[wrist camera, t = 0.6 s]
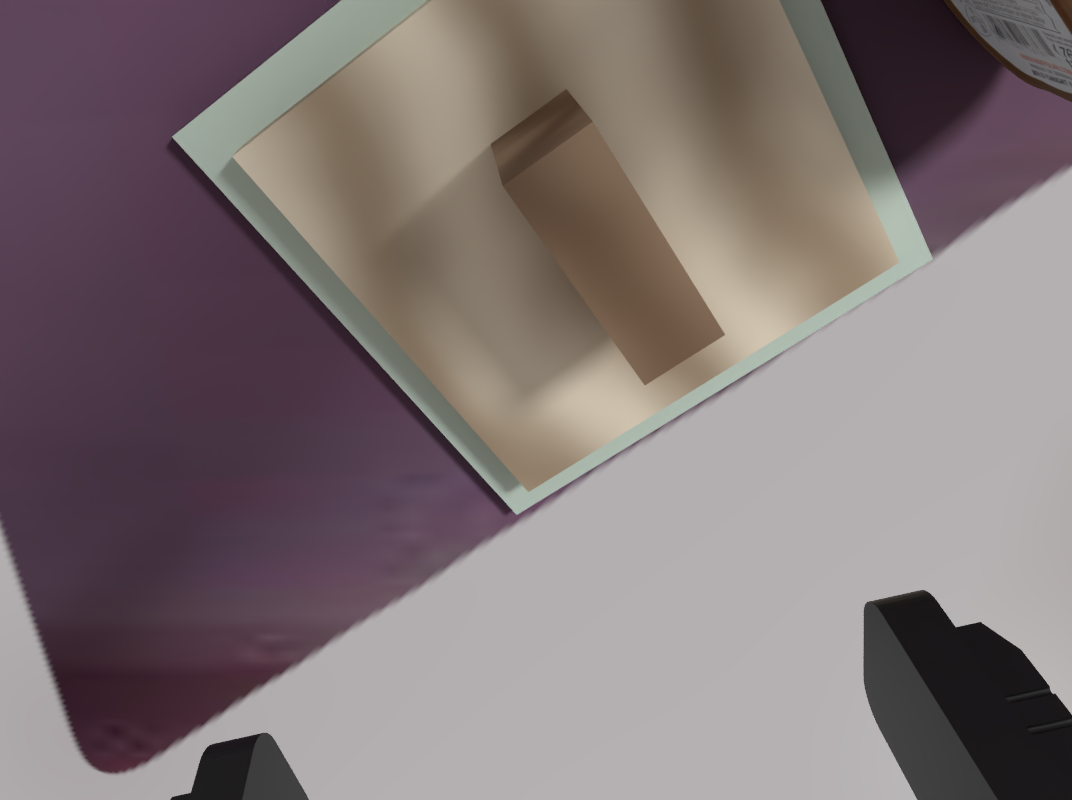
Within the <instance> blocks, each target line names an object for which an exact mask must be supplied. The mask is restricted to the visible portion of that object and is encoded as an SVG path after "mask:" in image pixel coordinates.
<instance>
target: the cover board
mask: <svg viewBox="0 0 1072 800" xmlns="http://www.w3.org/2000/svg"><path fill="white" fill-rule="evenodd" d="M232 157H233V158H234V159H235V160H236V162H237V163H238V164H239V165H240V166H241V167H242V168H243V170H244V171H245V172H246V173H247V174H248V175H249V176H250V177H251V179H252V180H253V181H254V182H255V183H256V184H257V185H258V187H259V188H260V189H261V190H262V191H263V192H264V193H265V194H266V196H267V197H268V198H269V199H270V200H271V201H272V202H273V204H274V205H275V206H276V207H277V208H278V209H279V210H280V211H281V213H282V214H283V215H284V216H285V217H286V218H287V219H288V221H289V222H290V223H291V224H292V225H293V226H294V227H295V228H296V230H297V231H298V232H299V233H300V234H301V235H302V236H303V237H304V239H305V240H306V241H307V242H308V243H309V244H310V245H311V247H312V248H313V249H314V250H315V251H316V252H317V253H318V254H319V256H320V257H321V258H322V259H323V260H324V261H325V262H326V264H327V265H328V266H329V267H330V268H331V269H332V270H333V271H334V273H335V274H336V275H337V276H338V277H339V278H340V279H341V281H342V282H343V283H344V284H345V285H346V286H347V287H348V288H349V290H350V291H351V292H352V293H353V294H354V295H355V296H356V298H357V299H358V300H359V301H360V302H361V303H362V304H363V305H364V307H365V308H366V309H367V310H368V311H369V312H370V313H371V314H372V316H373V317H374V318H375V319H376V320H377V321H378V322H379V324H380V325H381V326H382V327H383V328H384V329H385V330H386V331H387V333H388V334H389V335H390V336H391V337H392V338H393V339H394V341H395V342H396V343H397V344H398V345H399V346H400V347H401V348H402V350H403V351H404V352H405V353H406V354H407V355H408V356H409V358H410V359H411V360H412V361H413V362H414V363H415V364H416V365H417V367H418V368H419V369H420V370H421V371H422V372H423V373H424V375H425V376H426V377H427V378H428V379H429V380H430V381H431V382H432V384H433V385H434V386H435V387H436V388H437V389H438V390H439V392H440V393H441V394H442V395H443V396H444V397H445V398H446V399H447V401H448V402H449V403H450V404H451V405H452V406H453V407H454V408H455V410H456V411H457V412H458V413H459V414H460V415H461V416H462V418H463V419H464V420H465V421H466V422H467V423H468V424H469V425H470V427H471V428H472V429H473V430H474V431H475V432H476V433H477V435H478V436H479V437H480V438H481V439H482V440H483V441H484V442H485V444H486V445H487V446H488V447H489V448H490V449H491V450H492V452H493V453H494V454H495V455H496V456H497V457H498V458H499V459H500V461H501V462H502V463H503V464H504V465H505V466H506V467H507V469H508V470H509V471H510V472H511V473H512V474H513V475H514V476H515V478H516V479H517V480H518V481H519V482H520V483H521V484H522V486H523V487H524V488H525V489H526V490H527V491H528V492H530V491H531V490H533V489H534V488H536V487H538V486H539V485H541V484H542V483H544V482H546V481H547V480H549V479H551V478H552V477H554V476H555V475H557V474H559V473H560V472H562V471H563V470H565V469H567V468H568V467H570V466H572V465H573V464H575V463H576V462H578V461H580V460H581V459H583V458H585V457H586V456H588V455H589V454H591V453H593V452H594V451H596V450H597V449H599V448H601V447H602V446H604V445H606V444H607V443H609V442H610V441H612V440H614V439H615V438H617V437H618V436H620V435H622V434H623V433H625V432H627V431H628V430H630V429H631V428H633V427H635V426H636V425H638V424H639V423H641V422H643V421H644V420H646V419H648V418H649V417H651V416H652V415H654V414H656V413H657V412H659V411H660V410H662V409H664V408H665V407H667V406H669V405H670V404H672V403H673V402H675V401H677V400H678V399H680V398H681V397H683V396H685V395H686V394H688V393H690V392H691V391H693V390H694V389H696V388H698V387H699V386H701V385H702V384H704V383H706V382H707V381H709V380H711V379H712V378H714V377H715V376H717V375H719V374H720V373H722V372H724V371H725V370H727V369H728V368H730V367H732V366H733V365H735V364H736V363H738V362H740V361H741V360H743V359H745V358H746V357H748V356H749V355H751V354H753V353H754V352H756V351H757V350H759V349H761V348H762V347H764V346H766V345H767V344H769V343H770V342H772V341H774V340H775V339H777V338H778V337H780V336H782V335H783V334H785V333H787V332H788V331H790V330H791V329H793V328H795V327H796V326H798V325H799V324H801V323H803V322H804V321H806V320H808V319H809V318H811V317H812V316H814V315H816V314H817V313H819V312H820V311H822V310H824V309H825V308H827V307H829V306H830V305H832V304H833V303H835V302H837V301H838V300H840V299H841V298H843V297H845V296H846V295H848V294H850V293H851V292H853V291H854V290H856V289H858V288H859V287H861V286H863V285H864V284H866V283H867V282H869V281H871V280H872V279H874V278H875V277H877V276H879V275H880V274H882V273H884V272H885V271H887V270H888V269H890V268H892V267H893V266H895V265H896V264H898V263H900V262H899V260H898V258H897V256H896V253H895V251H894V249H893V247H892V245H891V242H890V240H889V238H888V236H887V234H886V232H885V229H884V227H883V225H882V223H881V221H880V219H879V216H878V214H877V212H876V210H875V208H874V205H873V203H872V201H871V199H870V197H869V195H868V192H867V190H866V188H865V186H864V184H863V181H862V179H861V177H860V175H859V173H858V171H857V168H856V166H855V164H854V162H853V160H852V157H851V155H850V153H849V151H848V149H847V147H846V144H845V142H844V140H843V138H842V136H841V134H840V131H839V129H838V127H837V125H836V123H835V120H834V118H833V116H832V114H831V112H830V110H829V107H828V105H827V103H826V101H825V99H824V96H823V94H822V92H821V90H820V88H819V86H818V83H817V81H816V79H815V77H814V75H813V72H812V70H811V68H810V66H809V64H808V62H807V59H806V57H805V55H804V53H803V51H802V49H801V46H800V44H799V42H798V40H797V38H796V35H795V33H794V31H793V29H792V27H791V25H790V22H789V20H788V18H787V16H786V14H785V11H784V9H783V7H782V5H781V3H780V1H779V0H427V1H426V2H424V3H423V4H422V5H421V6H419V7H418V8H417V9H416V10H414V11H413V12H412V13H410V14H409V15H408V16H407V17H405V18H404V19H403V20H402V21H400V22H399V23H398V24H396V25H395V26H394V27H393V28H391V29H390V30H389V31H387V32H386V33H385V34H384V35H382V36H381V37H380V38H379V39H377V40H376V41H375V42H373V43H372V44H371V45H370V46H368V47H367V48H366V49H365V50H363V51H362V52H361V53H359V54H358V55H357V56H356V57H354V58H353V59H352V60H351V61H349V62H348V63H347V64H345V65H344V66H343V67H342V68H340V69H339V70H338V71H337V72H335V73H334V74H333V75H331V76H330V77H329V78H328V79H326V80H325V81H324V82H323V83H321V84H320V85H319V86H317V87H316V88H315V89H314V90H312V91H311V92H310V93H308V94H307V95H306V96H305V97H303V98H302V99H301V100H300V101H298V102H297V103H296V104H294V105H293V106H292V107H291V108H289V109H288V110H287V111H286V112H284V113H283V114H282V115H280V116H279V117H278V118H277V119H275V120H274V121H273V122H272V123H270V124H269V125H268V126H266V127H265V128H264V129H263V130H261V131H260V132H259V133H258V134H256V135H255V136H254V137H252V138H251V139H250V140H249V141H247V142H246V143H245V144H244V145H242V146H241V147H240V148H239V149H238V150H237V151H236V152H235V154H234V155H233V156H232Z"/></svg>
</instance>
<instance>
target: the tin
mask: <svg viewBox="0 0 1072 800" xmlns="http://www.w3.org/2000/svg"><path fill="white" fill-rule="evenodd" d="M943 1H944V2H945V4H946V5H947V6H948V7H949V9H950V10H951V11H952V12H953V13H954V15H955V16H956V17H957V18H958V20H959V21H960V22H961V23H962V24H963V26H964V27H965V28H966V29H967V30H968V31H969V32H970V33H971V34H972V36H973V37H974V38H975V39H976V40H977V41H978V42H979V43H980V44H981V45H982V46H983V47H984V48H985V49H986V50H987V51H988V52H989V53H990V54H991V55H992V56H993V57H994V58H995V59H996V60H998V61H999V62H1000V63H1001V64H1002V65H1003V66H1005V67H1006V68H1007V69H1008V70H1010V71H1011V72H1012V73H1013V74H1015V75H1016V76H1017V77H1018V78H1020V79H1022V80H1023V81H1025V82H1026V83H1028V84H1030V85H1032V86H1034V87H1037V88H1040V89H1043V90H1046V91H1049V92H1051V93H1053V94H1055V95H1058V96H1060V97H1062V98H1064V99H1066V100H1068V101H1070V102H1072V0H943Z"/></svg>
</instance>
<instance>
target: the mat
mask: <svg viewBox="0 0 1072 800" xmlns="http://www.w3.org/2000/svg"><path fill="white" fill-rule="evenodd" d="M426 1H427V0H341V1H340V2H339V3H337V4H336V5H335V6H334V7H332V8H331V9H330V10H329V11H327V12H326V13H325V14H324V15H322V16H321V17H320V18H319V19H317V20H316V21H315V22H314V23H312V24H311V25H310V26H309V27H308V28H306V29H305V30H304V31H303V32H301V33H300V34H299V35H298V36H296V37H295V38H294V39H293V40H291V41H290V42H289V43H288V44H286V45H285V46H284V47H283V48H281V49H280V50H279V51H278V52H276V53H275V54H274V55H273V56H272V57H270V58H269V59H268V60H267V61H265V62H264V63H263V64H262V65H260V66H259V67H258V68H257V69H255V70H254V71H253V72H252V73H250V74H249V75H248V76H247V77H245V78H244V79H243V80H242V81H240V82H239V83H238V84H237V85H236V86H234V87H233V88H232V89H231V90H229V91H228V92H227V93H226V94H224V95H223V96H222V97H221V98H219V99H218V100H217V101H216V102H214V103H213V104H212V105H211V106H209V107H208V108H207V109H206V110H204V111H203V112H202V113H201V114H200V115H198V116H197V117H196V118H195V119H193V120H192V121H191V122H190V123H188V124H187V125H186V126H185V127H183V128H182V129H181V130H180V131H178V132H177V133H176V134H175V135H174V136H172V138H173V139H174V140H175V141H176V142H177V143H178V144H179V145H180V146H181V147H182V148H183V150H184V151H185V152H186V153H187V154H188V155H189V156H190V157H191V158H192V159H193V161H194V162H195V163H196V164H197V165H198V166H199V167H200V168H201V169H202V170H203V172H204V173H205V174H206V175H207V176H208V177H209V178H210V179H211V180H212V181H213V182H214V184H215V185H216V186H217V187H218V188H219V189H220V190H221V191H222V192H223V193H224V195H225V196H226V197H227V198H228V199H229V200H230V201H231V202H232V203H233V204H234V206H235V207H236V208H237V209H238V210H239V211H240V212H241V213H242V214H243V215H244V216H245V218H246V219H247V220H248V221H249V222H250V223H251V224H252V225H253V226H254V227H255V229H256V230H257V231H258V232H259V233H260V234H261V235H262V236H263V237H264V238H265V239H266V241H267V242H268V243H269V244H270V245H271V246H272V247H273V248H274V249H275V250H276V252H277V253H278V254H279V255H280V256H281V257H282V258H283V259H284V260H285V261H286V263H287V264H288V265H289V266H290V267H291V268H292V269H293V270H294V271H295V272H296V273H297V275H298V276H299V277H300V278H301V279H302V280H303V281H304V282H305V283H306V284H307V286H308V287H309V288H310V289H311V290H312V291H313V292H314V293H315V294H316V295H317V297H318V298H319V299H320V300H321V301H322V302H323V303H324V304H325V305H326V306H327V307H328V309H329V310H330V311H331V312H332V313H333V314H334V315H335V316H336V317H337V318H338V320H339V321H340V322H341V323H342V324H343V325H344V326H345V327H346V328H347V329H348V331H349V332H350V333H351V334H352V335H353V336H354V337H355V338H356V339H357V340H358V341H359V343H360V344H361V345H362V346H363V347H364V348H365V349H366V350H367V351H368V352H369V354H370V355H371V356H372V357H373V358H374V359H375V360H376V361H377V362H378V363H379V365H380V366H381V367H382V368H383V369H384V370H385V371H386V372H387V373H388V374H389V375H390V377H391V378H392V379H393V380H394V381H395V382H396V383H397V384H398V385H399V386H400V388H401V389H402V390H403V391H404V392H405V393H406V394H407V395H408V396H409V397H410V399H411V400H412V401H413V402H414V403H415V404H416V405H417V406H418V407H419V408H420V409H421V411H422V412H423V413H424V414H425V415H426V416H427V417H428V418H429V419H430V420H431V422H432V423H433V424H434V425H435V426H436V427H437V428H438V429H439V430H440V431H441V432H442V434H443V435H444V436H445V437H446V438H447V439H448V440H449V441H450V442H451V443H452V445H453V446H454V447H455V448H456V449H457V450H458V451H459V452H460V453H461V454H462V456H463V457H464V458H465V459H466V460H467V461H468V462H469V463H470V464H471V465H472V466H473V468H474V469H475V470H476V471H477V472H478V473H479V474H480V475H481V476H482V477H483V479H484V480H485V481H486V482H487V483H488V484H489V485H490V486H491V487H492V488H493V490H494V491H495V492H496V493H497V494H498V495H499V496H500V497H501V498H502V499H503V500H504V502H505V503H506V504H507V505H508V506H509V507H510V508H511V509H512V510H513V511H514V513H515V514H516V515H517V514H519V513H521V512H522V511H524V510H525V509H527V508H529V507H530V506H532V505H534V504H535V503H537V502H538V501H540V500H542V499H543V498H545V497H547V496H548V495H550V494H551V493H553V492H555V491H556V490H558V489H560V488H561V487H563V486H565V485H566V484H568V483H569V482H571V481H573V480H574V479H576V478H578V477H579V476H581V475H582V474H584V473H586V472H587V471H589V470H591V469H592V468H594V467H595V466H597V465H599V464H600V463H602V462H604V461H605V460H607V459H608V458H610V457H612V456H613V455H615V454H617V453H618V452H620V451H621V450H623V449H625V448H626V447H628V446H630V445H631V444H633V443H635V442H636V441H638V440H639V439H641V438H643V437H644V436H646V435H648V434H649V433H651V432H652V431H654V430H656V429H657V428H659V427H661V426H662V425H664V424H665V423H667V422H669V421H670V420H672V419H674V418H675V417H677V416H678V415H680V414H682V413H683V412H685V411H687V410H688V409H690V408H692V407H693V406H695V405H696V404H698V403H700V402H701V401H703V400H705V399H706V398H708V397H709V396H711V395H713V394H714V393H716V392H718V391H719V390H721V389H722V388H724V387H726V386H727V385H729V384H731V383H732V382H734V381H735V380H737V379H739V378H740V377H742V376H744V375H745V374H747V373H748V372H750V371H752V370H753V369H755V368H757V367H758V366H760V365H762V364H763V363H765V362H766V361H768V360H770V359H771V358H773V357H775V356H776V355H778V354H779V353H781V352H783V351H784V350H786V349H788V348H789V347H791V346H792V345H794V344H796V343H797V342H799V341H801V340H802V339H804V338H805V337H807V336H809V335H810V334H812V333H814V332H815V331H817V330H819V329H820V328H822V327H823V326H825V325H827V324H828V323H830V322H832V321H833V320H835V319H836V318H838V317H840V316H841V315H843V314H845V313H846V312H848V311H849V310H851V309H853V308H854V307H856V306H858V305H859V304H861V303H862V302H864V301H866V300H867V299H869V298H871V297H872V296H874V295H875V294H877V293H879V292H880V291H882V290H884V289H885V288H887V287H889V286H890V285H892V284H893V283H895V282H897V281H898V280H900V279H902V278H903V277H905V276H906V275H908V274H910V273H911V272H913V271H915V270H916V269H918V268H919V267H921V266H923V265H924V264H926V263H928V262H929V261H931V260H932V259H933V258H932V256H931V254H930V252H929V249H928V247H927V245H926V242H925V240H924V238H923V235H922V233H921V231H920V228H919V226H918V224H917V222H916V219H915V217H914V215H913V212H912V210H911V208H910V205H909V203H908V201H907V198H906V196H905V194H904V192H903V189H902V187H901V185H900V182H899V180H898V178H897V175H896V173H895V171H894V168H893V166H892V164H891V162H890V159H889V157H888V155H887V152H886V150H885V148H884V145H883V143H882V141H881V138H880V136H879V134H878V132H877V129H876V127H875V125H874V122H873V120H872V118H871V115H870V113H869V111H868V108H867V106H866V104H865V101H864V99H863V97H862V95H861V92H860V90H859V88H858V85H857V83H856V81H855V78H854V76H853V74H852V71H851V69H850V67H849V65H848V62H847V60H846V58H845V55H844V53H843V51H842V48H841V46H840V44H839V41H838V39H837V37H836V35H835V32H834V30H833V28H832V25H831V23H830V21H829V18H828V16H827V14H826V11H825V9H824V7H823V5H822V2H821V0H779V1H780V3H781V5H782V7H783V9H784V11H785V14H786V16H787V18H788V20H789V22H790V25H791V27H792V29H793V31H794V33H795V35H796V38H797V40H798V42H799V44H800V46H801V49H802V51H803V53H804V55H805V57H806V59H807V62H808V64H809V66H810V68H811V70H812V72H813V75H814V77H815V79H816V81H817V83H818V86H819V88H820V90H821V92H822V94H823V96H824V99H825V101H826V103H827V105H828V107H829V110H830V112H831V114H832V116H833V118H834V120H835V123H836V125H837V127H838V129H839V131H840V134H841V136H842V138H843V140H844V142H845V144H846V147H847V149H848V151H849V153H850V155H851V157H852V160H853V162H854V164H855V166H856V168H857V171H858V173H859V175H860V177H861V179H862V181H863V184H864V186H865V188H866V190H867V192H868V195H869V197H870V199H871V201H872V203H873V205H874V208H875V210H876V212H877V214H878V216H879V219H880V221H881V223H882V225H883V227H884V229H885V232H886V234H887V236H888V238H889V240H890V242H891V245H892V247H893V249H894V251H895V253H896V256H897V258H898V260H899V262H900V263H898V264H896V265H895V266H893V267H892V268H890V269H888V270H887V271H885V272H884V273H882V274H880V275H879V276H877V277H875V278H874V279H872V280H871V281H869V282H867V283H866V284H864V285H863V286H861V287H859V288H858V289H856V290H854V291H853V292H851V293H850V294H848V295H846V296H845V297H843V298H841V299H840V300H838V301H837V302H835V303H833V304H832V305H830V306H829V307H827V308H825V309H824V310H822V311H820V312H819V313H817V314H816V315H814V316H812V317H811V318H809V319H808V320H806V321H804V322H803V323H801V324H799V325H798V326H796V327H795V328H793V329H791V330H790V331H788V332H787V333H785V334H783V335H782V336H780V337H778V338H777V339H775V340H774V341H772V342H770V343H769V344H767V345H766V346H764V347H762V348H761V349H759V350H757V351H756V352H754V353H753V354H751V355H749V356H748V357H746V358H745V359H743V360H741V361H740V362H738V363H736V364H735V365H733V366H732V367H730V368H728V369H727V370H725V371H724V372H722V373H720V374H719V375H717V376H715V377H714V378H712V379H711V380H709V381H707V382H706V383H704V384H702V385H701V386H699V387H698V388H696V389H694V390H693V391H691V392H690V393H688V394H686V395H685V396H683V397H681V398H680V399H678V400H677V401H675V402H673V403H672V404H670V405H669V406H667V407H665V408H664V409H662V410H660V411H659V412H657V413H656V414H654V415H652V416H651V417H649V418H648V419H646V420H644V421H643V422H641V423H639V424H638V425H636V426H635V427H633V428H631V429H630V430H628V431H627V432H625V433H623V434H622V435H620V436H618V437H617V438H615V439H614V440H612V441H610V442H609V443H607V444H606V445H604V446H602V447H601V448H599V449H597V450H596V451H594V452H593V453H591V454H589V455H588V456H586V457H585V458H583V459H581V460H580V461H578V462H576V463H575V464H573V465H572V466H570V467H568V468H567V469H565V470H563V471H562V472H560V473H559V474H557V475H555V476H554V477H552V478H551V479H549V480H547V481H546V482H544V483H542V484H541V485H539V486H538V487H536V488H534V489H533V490H531V491H530V492H528V491H527V490H526V489H525V488H524V487H523V486H522V484H521V483H520V482H519V481H518V480H517V479H516V478H515V476H514V475H513V474H512V473H511V472H510V471H509V470H508V469H507V467H506V466H505V465H504V464H503V463H502V462H501V461H500V459H499V458H498V457H497V456H496V455H495V454H494V453H493V452H492V450H491V449H490V448H489V447H488V446H487V445H486V444H485V442H484V441H483V440H482V439H481V438H480V437H479V436H478V435H477V433H476V432H475V431H474V430H473V429H472V428H471V427H470V425H469V424H468V423H467V422H466V421H465V420H464V419H463V418H462V416H461V415H460V414H459V413H458V412H457V411H456V410H455V408H454V407H453V406H452V405H451V404H450V403H449V402H448V401H447V399H446V398H445V397H444V396H443V395H442V394H441V393H440V392H439V390H438V389H437V388H436V387H435V386H434V385H433V384H432V382H431V381H430V380H429V379H428V378H427V377H426V376H425V375H424V373H423V372H422V371H421V370H420V369H419V368H418V367H417V365H416V364H415V363H414V362H413V361H412V360H411V359H410V358H409V356H408V355H407V354H406V353H405V352H404V351H403V350H402V348H401V347H400V346H399V345H398V344H397V343H396V342H395V341H394V339H393V338H392V337H391V336H390V335H389V334H388V333H387V331H386V330H385V329H384V328H383V327H382V326H381V325H380V324H379V322H378V321H377V320H376V319H375V318H374V317H373V316H372V314H371V313H370V312H369V311H368V310H367V309H366V308H365V307H364V305H363V304H362V303H361V302H360V301H359V300H358V299H357V298H356V296H355V295H354V294H353V293H352V292H351V291H350V290H349V288H348V287H347V286H346V285H345V284H344V283H343V282H342V281H341V279H340V278H339V277H338V276H337V275H336V274H335V273H334V271H333V270H332V269H331V268H330V267H329V266H328V265H327V264H326V262H325V261H324V260H323V259H322V258H321V257H320V256H319V254H318V253H317V252H316V251H315V250H314V249H313V248H312V247H311V245H310V244H309V243H308V242H307V241H306V240H305V239H304V237H303V236H302V235H301V234H300V233H299V232H298V231H297V230H296V228H295V227H294V226H293V225H292V224H291V223H290V222H289V221H288V219H287V218H286V217H285V216H284V215H283V214H282V213H281V211H280V210H279V209H278V208H277V207H276V206H275V205H274V204H273V202H272V201H271V200H270V199H269V198H268V197H267V196H266V194H265V193H264V192H263V191H262V190H261V189H260V188H259V187H258V185H257V184H256V183H255V182H254V181H253V180H252V179H251V177H250V176H249V175H248V174H247V173H246V172H245V171H244V170H243V168H242V167H241V166H240V165H239V164H238V163H237V162H236V160H235V159H234V158H233V157H232V156H233V155H234V154H235V152H236V151H237V150H238V149H239V148H240V147H241V146H242V145H244V144H245V143H246V142H247V141H249V140H250V139H251V138H252V137H254V136H255V135H256V134H258V133H259V132H260V131H261V130H263V129H264V128H265V127H266V126H268V125H269V124H270V123H272V122H273V121H274V120H275V119H277V118H278V117H279V116H280V115H282V114H283V113H284V112H286V111H287V110H288V109H289V108H291V107H292V106H293V105H294V104H296V103H297V102H298V101H300V100H301V99H302V98H303V97H305V96H306V95H307V94H308V93H310V92H311V91H312V90H314V89H315V88H316V87H317V86H319V85H320V84H321V83H323V82H324V81H325V80H326V79H328V78H329V77H330V76H331V75H333V74H334V73H335V72H337V71H338V70H339V69H340V68H342V67H343V66H344V65H345V64H347V63H348V62H349V61H351V60H352V59H353V58H354V57H356V56H357V55H358V54H359V53H361V52H362V51H363V50H365V49H366V48H367V47H368V46H370V45H371V44H372V43H373V42H375V41H376V40H377V39H379V38H380V37H381V36H382V35H384V34H385V33H386V32H387V31H389V30H390V29H391V28H393V27H394V26H395V25H396V24H398V23H399V22H400V21H402V20H403V19H404V18H405V17H407V16H408V15H409V14H410V13H412V12H413V11H414V10H416V9H417V8H418V7H419V6H421V5H422V4H423V3H424V2H426Z"/></svg>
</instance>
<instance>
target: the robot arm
mask: <svg viewBox="0 0 1072 800" xmlns="http://www.w3.org/2000/svg"><path fill="white" fill-rule="evenodd" d="M864 684H865V690H866V694H867V698H868V701H869V704H870V707H871V710H872V713H873V715H874V718H875V720H876V722H877V724H878V726H879V728H880V730H881V732H882V734H883V736H884V738H885V740H886V742H887V743H888V745H889V747H890V749H891V751H892V753H893V754H894V756H895V758H896V760H897V762H898V764H899V766H900V768H901V770H902V772H903V773H904V775H905V777H906V779H907V781H908V783H909V784H910V787H911V788H912V790H913V792H914V794H915V796H916V798H917V799H918V800H1072V715H1071V713H1070V712H1069V711H1068V709H1067V708H1066V707H1065V706H1064V704H1063V703H1062V702H1061V700H1060V699H1059V698H1058V697H1057V695H1056V694H1052V693H1051V691H1050V686H1049V685H1048V684H1047V683H1046V681H1045V680H1044V679H1043V677H1042V676H1041V675H1040V674H1039V672H1038V671H1037V670H1036V669H1035V667H1034V666H1033V665H1032V663H1031V662H1030V661H1029V659H1028V658H1027V657H1026V656H1025V654H1024V653H1023V652H1022V651H1021V650H1020V649H1019V648H1018V647H1016V646H1015V645H1013V644H1012V643H1010V642H1009V641H1007V640H1006V639H1004V638H1003V637H1001V636H1000V635H998V634H997V633H996V632H994V631H993V630H991V629H990V628H988V627H987V626H985V625H984V624H982V623H981V622H979V623H975V624H970V625H965V626H961V627H955V626H954V625H953V623H952V622H951V620H950V619H949V617H948V616H947V615H946V613H945V612H944V611H943V609H942V608H941V607H940V605H939V603H938V602H937V601H936V600H935V598H934V597H933V596H932V595H931V594H930V593H928V592H927V591H925V590H920V591H916V592H911V593H907V594H902V595H898V596H893V597H888V598H884V599H879V600H875V601H870V602H867V603H866V604H865V607H864ZM171 800H309V799H308V797H307V795H306V793H305V792H304V790H303V788H302V786H301V785H300V783H299V782H298V780H297V778H296V776H295V774H294V773H293V771H292V769H291V768H290V766H289V764H288V762H287V761H286V759H285V758H284V756H283V754H282V752H281V750H280V749H279V747H278V745H277V743H276V742H275V740H274V739H273V737H272V736H271V735H270V734H268V733H261V734H257V735H253V736H248V737H244V738H239V739H234V740H230V741H225V742H221V743H216V744H212V745H210V746H208V747H207V748H206V750H205V751H204V753H203V755H202V757H201V760H200V763H199V767H198V770H197V774H196V777H195V781H194V785H193V788H192V791H191V793H189V794H184V795H180V796H175V797H172V798H171Z"/></svg>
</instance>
